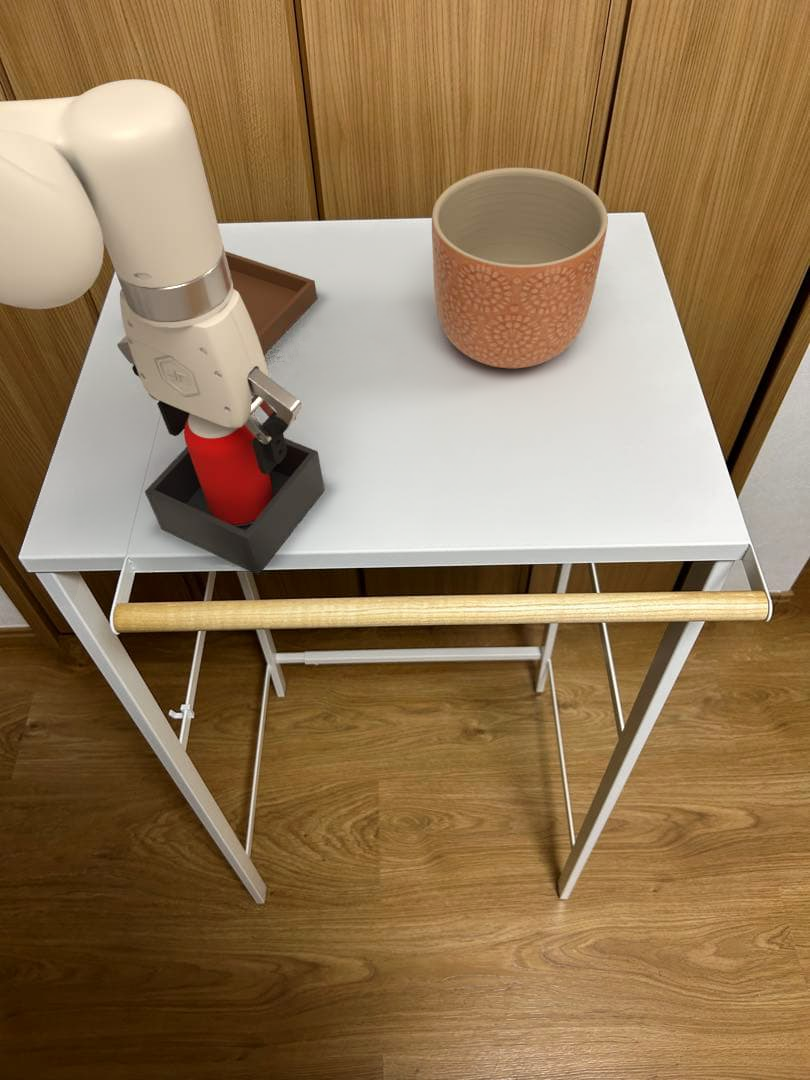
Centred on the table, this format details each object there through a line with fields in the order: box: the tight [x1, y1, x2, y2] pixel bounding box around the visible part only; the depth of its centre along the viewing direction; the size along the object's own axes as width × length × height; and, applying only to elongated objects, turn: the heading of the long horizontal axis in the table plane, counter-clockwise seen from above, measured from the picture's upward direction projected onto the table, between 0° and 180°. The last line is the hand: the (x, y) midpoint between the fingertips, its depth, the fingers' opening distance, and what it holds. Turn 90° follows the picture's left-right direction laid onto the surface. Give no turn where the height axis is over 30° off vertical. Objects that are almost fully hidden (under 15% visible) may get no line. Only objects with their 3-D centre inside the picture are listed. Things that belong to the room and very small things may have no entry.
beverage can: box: [183, 413, 273, 526], centre depth 74 cm, size 6×6×12 cm
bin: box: [144, 437, 325, 576], centre depth 77 cm, size 11×11×6 cm
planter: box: [431, 167, 609, 369], centre depth 87 cm, size 17×17×15 cm
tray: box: [225, 250, 318, 356], centre depth 96 cm, size 15×13×3 cm
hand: (228, 443), depth 72 cm, fingers open, 9 cm apart
